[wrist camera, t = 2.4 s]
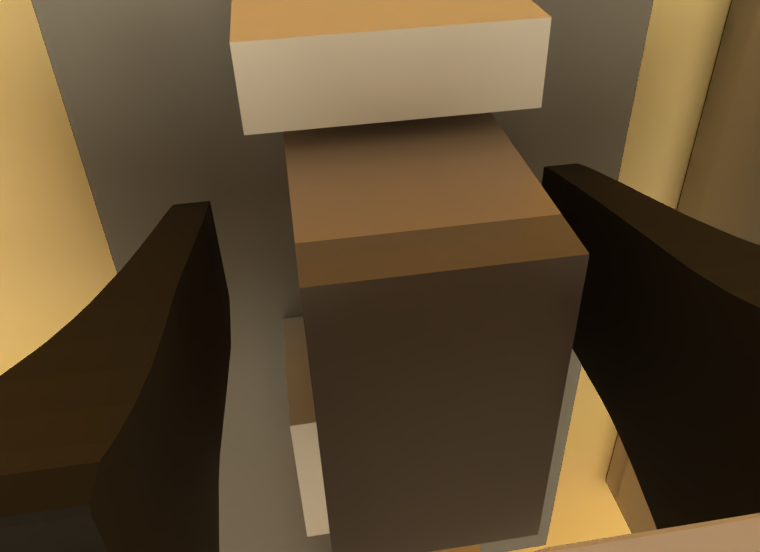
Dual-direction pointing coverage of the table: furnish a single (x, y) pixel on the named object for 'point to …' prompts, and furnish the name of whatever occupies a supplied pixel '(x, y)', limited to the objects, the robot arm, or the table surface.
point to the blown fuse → (431, 328)
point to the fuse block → (269, 169)
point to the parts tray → (715, 186)
